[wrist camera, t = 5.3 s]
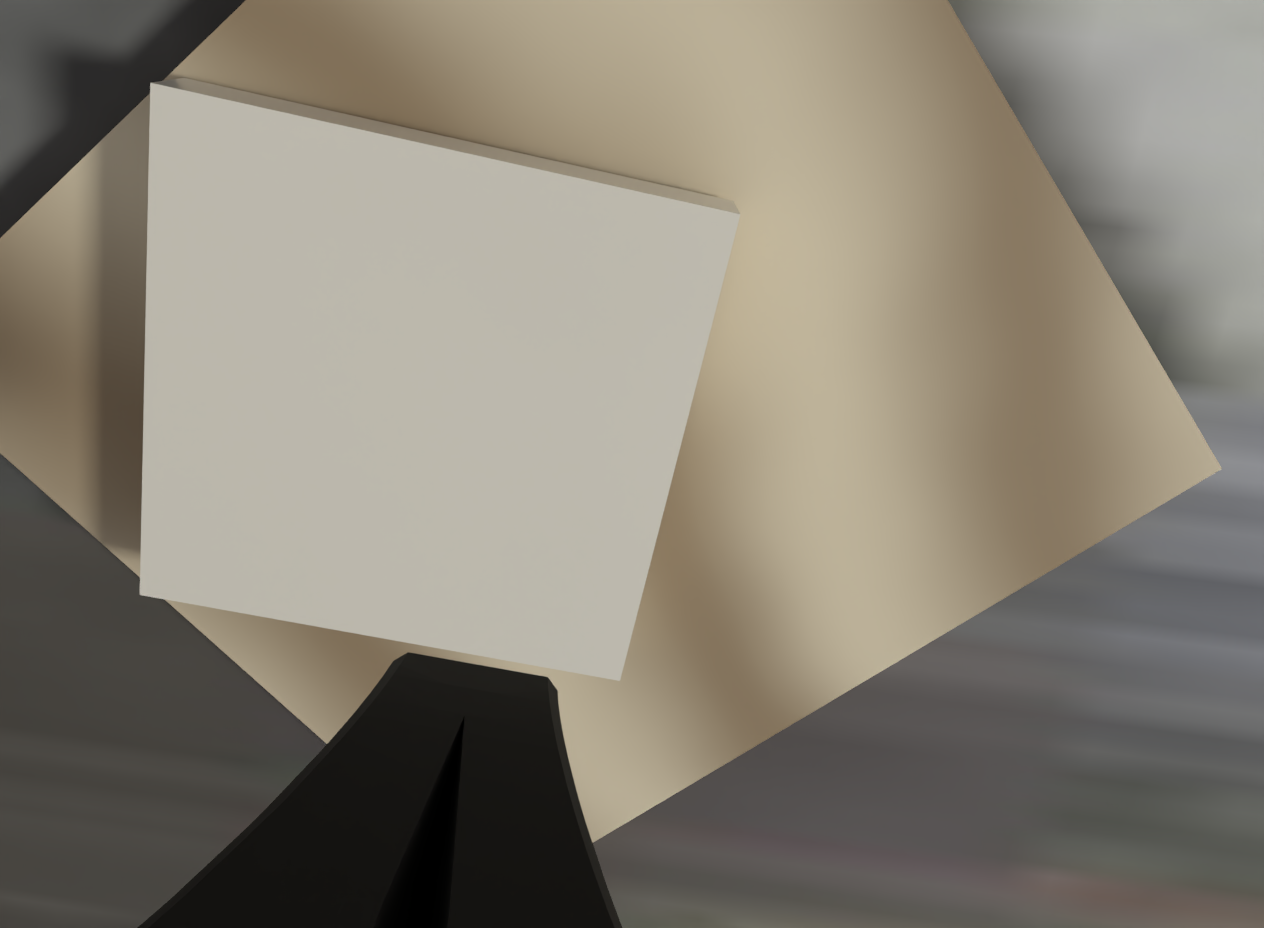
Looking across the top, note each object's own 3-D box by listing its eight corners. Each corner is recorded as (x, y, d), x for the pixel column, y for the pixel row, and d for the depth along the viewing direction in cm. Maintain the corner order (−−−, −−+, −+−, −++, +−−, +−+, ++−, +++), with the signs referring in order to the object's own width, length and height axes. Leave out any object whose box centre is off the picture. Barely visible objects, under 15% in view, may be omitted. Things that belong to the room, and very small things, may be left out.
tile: (620, 681, 17) (139, 594, 16) (620, 637, 18) (172, 555, 18) (740, 214, 14) (150, 82, 13) (732, 199, 15) (190, 76, 14)
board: (505, 860, 22) (499, 898, 21) (-76, 331, 17) (-116, 349, 16) (1191, 445, 18) (1222, 468, 17) (689, -403, 13) (693, -433, 12)
